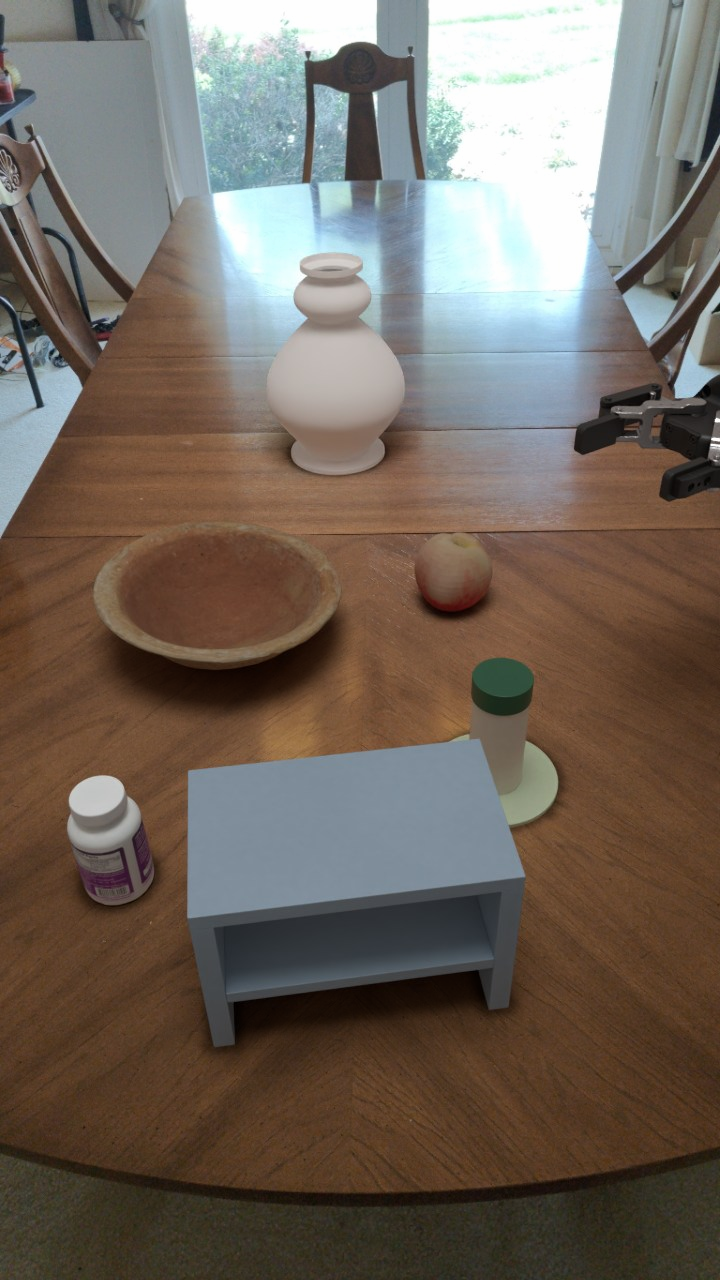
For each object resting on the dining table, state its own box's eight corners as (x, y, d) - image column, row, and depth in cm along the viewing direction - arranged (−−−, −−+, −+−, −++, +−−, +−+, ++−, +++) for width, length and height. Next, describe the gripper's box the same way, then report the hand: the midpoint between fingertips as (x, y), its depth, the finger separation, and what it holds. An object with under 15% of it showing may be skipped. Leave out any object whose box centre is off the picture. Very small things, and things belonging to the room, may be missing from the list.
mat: (574, 821, 80) (575, 817, 80) (441, 836, 79) (442, 832, 79) (537, 729, 89) (537, 725, 88) (417, 742, 87) (417, 738, 87)
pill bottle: (121, 842, 79) (99, 756, 73) (169, 872, 77) (150, 786, 71) (70, 887, 76) (42, 801, 70) (118, 920, 73) (94, 834, 67)
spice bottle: (529, 793, 82) (541, 693, 75) (472, 799, 81) (479, 699, 75) (514, 752, 86) (524, 654, 79) (460, 758, 85) (466, 660, 78)
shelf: (508, 1008, 67) (526, 876, 58) (214, 1048, 65) (186, 918, 56) (469, 869, 76) (479, 738, 68) (211, 900, 74) (187, 770, 66)
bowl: (286, 744, 88) (280, 676, 83) (60, 688, 94) (42, 621, 89) (375, 599, 105) (374, 535, 100) (178, 560, 112) (169, 498, 107)
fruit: (501, 616, 102) (507, 551, 97) (429, 631, 100) (431, 565, 95) (473, 575, 108) (477, 512, 103) (404, 588, 106) (405, 525, 102)
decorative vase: (380, 494, 123) (379, 292, 107) (250, 474, 127) (231, 278, 112) (420, 433, 136) (423, 246, 121) (300, 417, 141) (289, 235, 125)
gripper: (835, 487, 74) (685, 552, 67) (691, 420, 84) (546, 471, 77) (865, 393, 70) (707, 453, 63) (708, 334, 79) (557, 380, 72)
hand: (619, 463), depth 70 cm, fingers open, 8 cm apart
